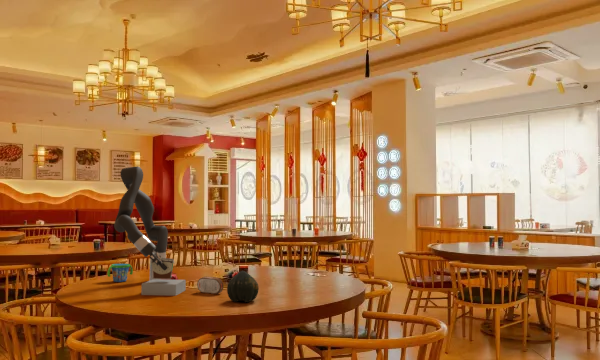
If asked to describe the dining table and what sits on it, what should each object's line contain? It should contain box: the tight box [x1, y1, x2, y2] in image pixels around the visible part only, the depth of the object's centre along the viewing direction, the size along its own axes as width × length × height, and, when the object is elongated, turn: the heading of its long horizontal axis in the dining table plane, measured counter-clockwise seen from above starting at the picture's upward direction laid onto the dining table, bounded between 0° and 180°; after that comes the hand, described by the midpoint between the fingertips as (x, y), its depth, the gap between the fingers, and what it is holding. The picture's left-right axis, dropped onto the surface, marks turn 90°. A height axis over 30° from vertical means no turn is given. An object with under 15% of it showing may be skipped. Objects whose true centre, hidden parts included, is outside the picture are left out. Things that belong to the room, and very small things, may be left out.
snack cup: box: [107, 263, 134, 283], centre depth 305 cm, size 16×10×10 cm
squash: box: [226, 270, 260, 303], centre depth 245 cm, size 14×15×15 cm
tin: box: [196, 276, 224, 295], centre depth 266 cm, size 15×3×8 cm, turn 65°
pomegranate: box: [167, 271, 179, 280], centre depth 287 cm, size 10×10×9 cm
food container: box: [151, 257, 175, 279], centre depth 268 cm, size 12×6×10 cm, turn 85°
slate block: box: [140, 279, 187, 297], centre depth 267 cm, size 16×18×6 cm
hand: (167, 268), depth 268 cm, fingers closed on food container, 6 cm apart
